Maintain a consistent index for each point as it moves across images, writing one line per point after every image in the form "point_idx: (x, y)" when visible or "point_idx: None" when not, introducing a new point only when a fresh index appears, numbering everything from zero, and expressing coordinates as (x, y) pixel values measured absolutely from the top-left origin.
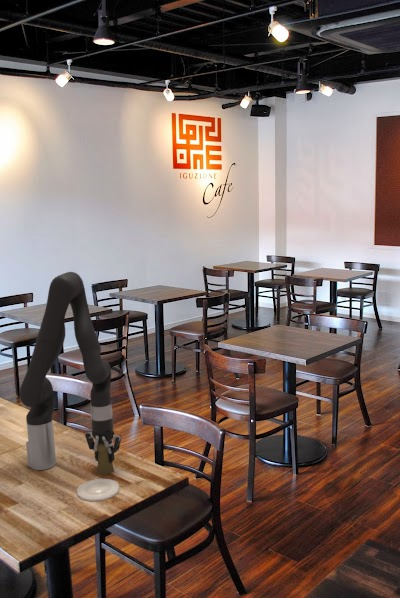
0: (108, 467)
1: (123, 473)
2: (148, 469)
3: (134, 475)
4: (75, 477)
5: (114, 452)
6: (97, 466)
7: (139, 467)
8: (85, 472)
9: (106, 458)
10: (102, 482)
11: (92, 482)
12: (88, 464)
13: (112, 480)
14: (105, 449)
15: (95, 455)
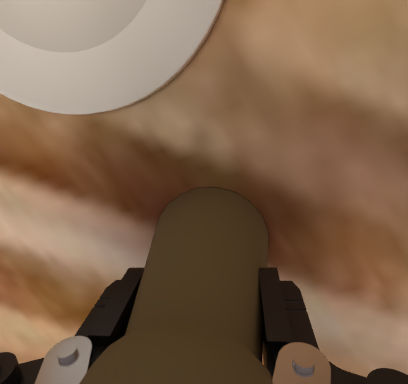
0: (155, 237)
1: (88, 245)
2: (2, 318)
3: (14, 241)
4: (390, 80)
5: (6, 354)
6: (260, 237)
7: (58, 326)
8: (345, 184)
9: (145, 285)
10: (84, 37)
11: (163, 2)
12: (383, 291)
13: (42, 103)
14: (88, 377)
15: (297, 312)
